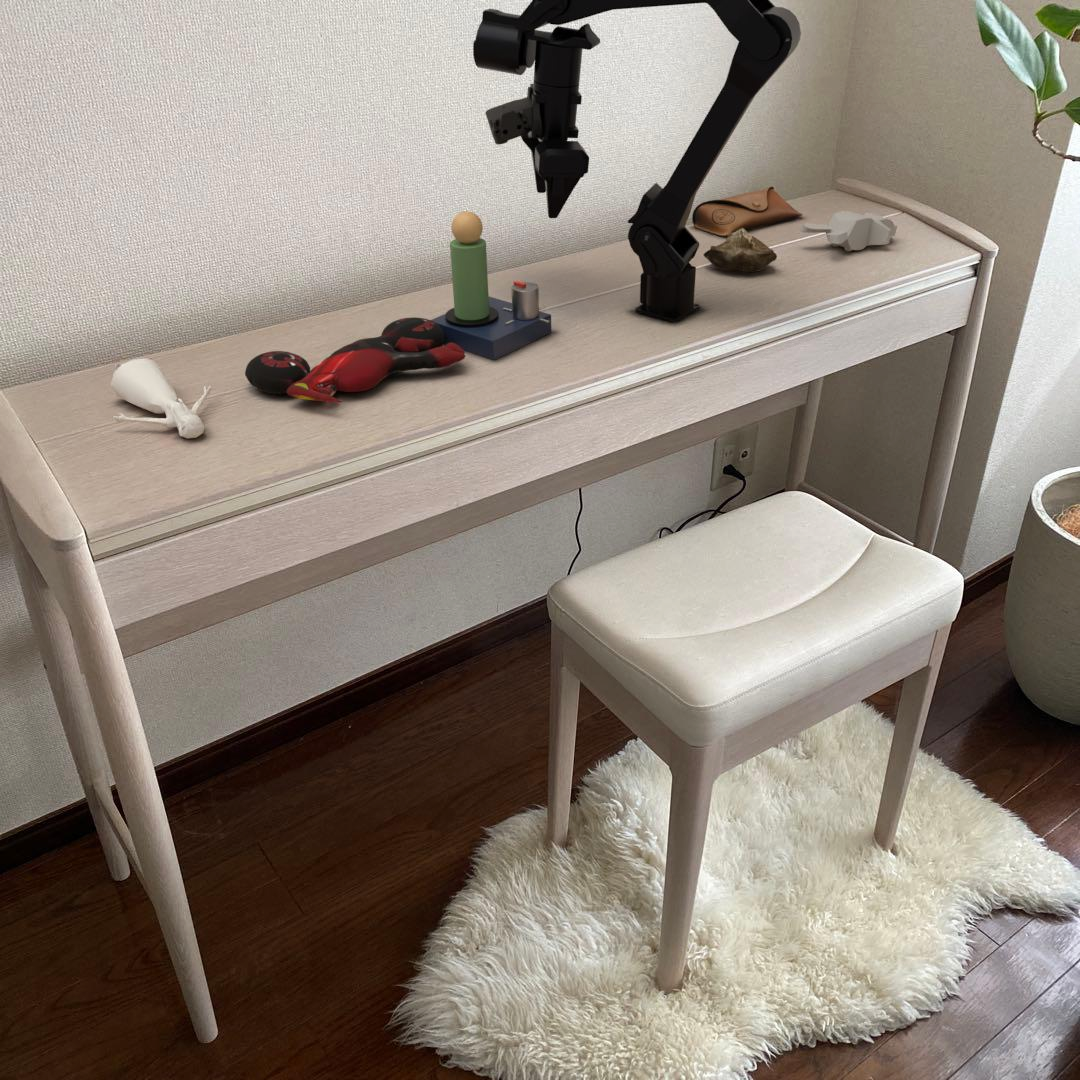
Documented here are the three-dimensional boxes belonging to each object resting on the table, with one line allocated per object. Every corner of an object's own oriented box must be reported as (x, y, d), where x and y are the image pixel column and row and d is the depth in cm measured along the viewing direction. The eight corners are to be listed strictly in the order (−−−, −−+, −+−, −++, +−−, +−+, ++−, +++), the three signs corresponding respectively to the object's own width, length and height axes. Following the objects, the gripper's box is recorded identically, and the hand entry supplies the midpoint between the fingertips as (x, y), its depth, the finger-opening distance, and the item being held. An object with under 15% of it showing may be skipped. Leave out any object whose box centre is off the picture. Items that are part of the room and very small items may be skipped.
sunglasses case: (727, 235, 167) (715, 194, 166) (699, 248, 173) (687, 208, 172) (806, 214, 176) (795, 175, 175) (777, 227, 182) (766, 189, 181)
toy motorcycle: (241, 391, 126) (285, 422, 114) (232, 349, 124) (276, 375, 112) (429, 349, 138) (488, 373, 125) (424, 310, 135) (483, 330, 123)
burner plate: (509, 315, 135) (509, 312, 135) (473, 332, 131) (472, 328, 131) (471, 304, 139) (470, 300, 139) (434, 319, 135) (433, 315, 134)
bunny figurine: (914, 219, 160) (842, 224, 153) (905, 253, 163) (835, 260, 156) (868, 205, 167) (797, 209, 160) (860, 237, 170) (791, 243, 163)
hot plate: (567, 332, 137) (567, 312, 135) (503, 363, 129) (502, 342, 127) (496, 310, 144) (495, 291, 142) (430, 338, 136) (429, 319, 134)
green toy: (496, 312, 135) (491, 210, 128) (472, 323, 132) (466, 219, 125) (471, 305, 137) (465, 204, 130) (447, 315, 134) (440, 213, 127)
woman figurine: (171, 338, 125) (243, 396, 115) (177, 372, 128) (249, 432, 117) (73, 366, 119) (140, 430, 108) (82, 401, 122) (149, 467, 111)
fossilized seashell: (696, 258, 152) (763, 278, 150) (713, 213, 151) (780, 233, 149) (704, 270, 159) (768, 289, 157) (720, 227, 159) (784, 246, 156)
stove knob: (544, 314, 135) (543, 283, 133) (527, 322, 133) (526, 290, 131) (524, 308, 137) (523, 277, 135) (507, 316, 135) (505, 285, 133)
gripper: (482, 59, 137) (478, 179, 147) (502, 101, 123) (495, 231, 132) (567, 62, 139) (557, 180, 149) (595, 104, 125) (582, 232, 134)
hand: (546, 204), depth 141 cm, fingers open, 9 cm apart
